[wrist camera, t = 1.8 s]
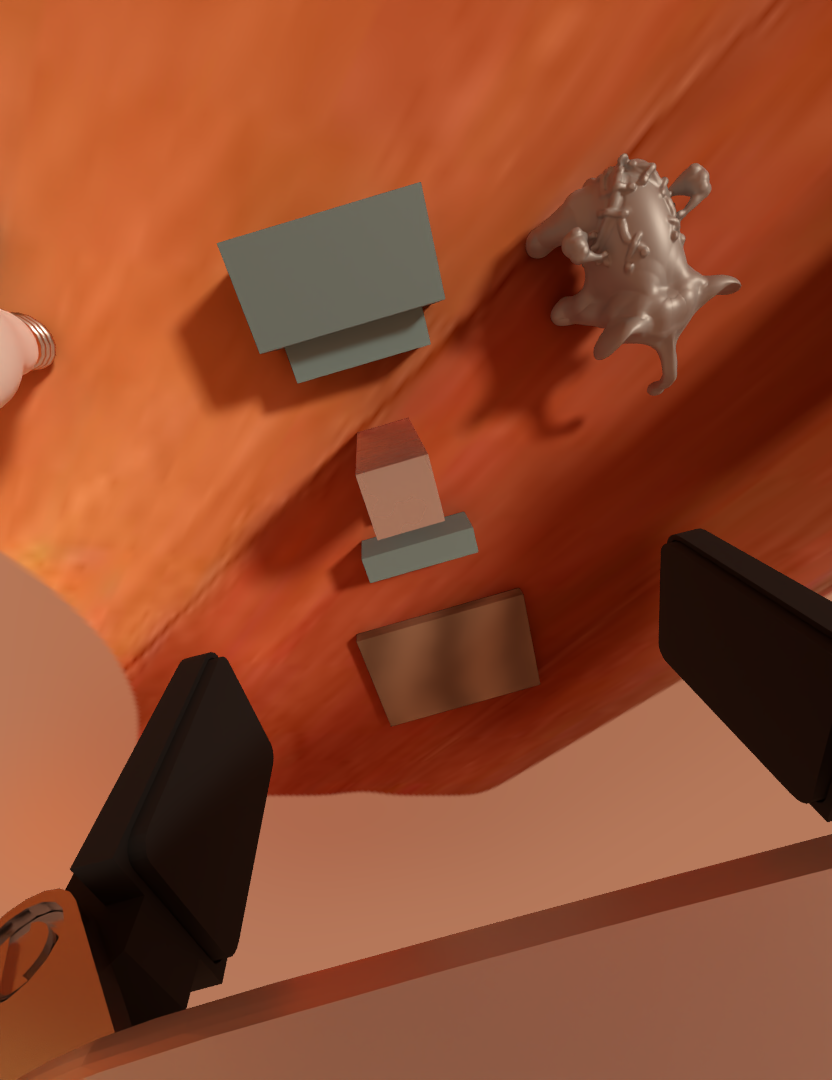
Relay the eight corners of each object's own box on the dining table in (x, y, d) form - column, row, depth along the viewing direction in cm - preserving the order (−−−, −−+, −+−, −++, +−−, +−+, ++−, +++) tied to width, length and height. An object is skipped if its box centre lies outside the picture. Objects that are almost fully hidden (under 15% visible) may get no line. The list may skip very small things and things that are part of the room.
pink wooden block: (408, 417, 31) (427, 454, 22) (429, 497, 33) (455, 560, 24) (357, 432, 31) (355, 475, 22) (382, 511, 33) (390, 579, 24)
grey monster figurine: (613, 140, 26) (698, 61, 19) (718, 308, 29) (822, 295, 22) (492, 272, 28) (527, 247, 21) (604, 412, 32) (666, 431, 25)
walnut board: (519, 587, 37) (523, 594, 36) (536, 676, 42) (540, 684, 41) (356, 634, 37) (356, 641, 37) (390, 718, 42) (391, 726, 41)
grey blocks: (410, 208, 26) (420, 181, 21) (482, 531, 35) (499, 561, 30) (242, 258, 26) (216, 243, 21) (357, 567, 35) (356, 602, 30)
